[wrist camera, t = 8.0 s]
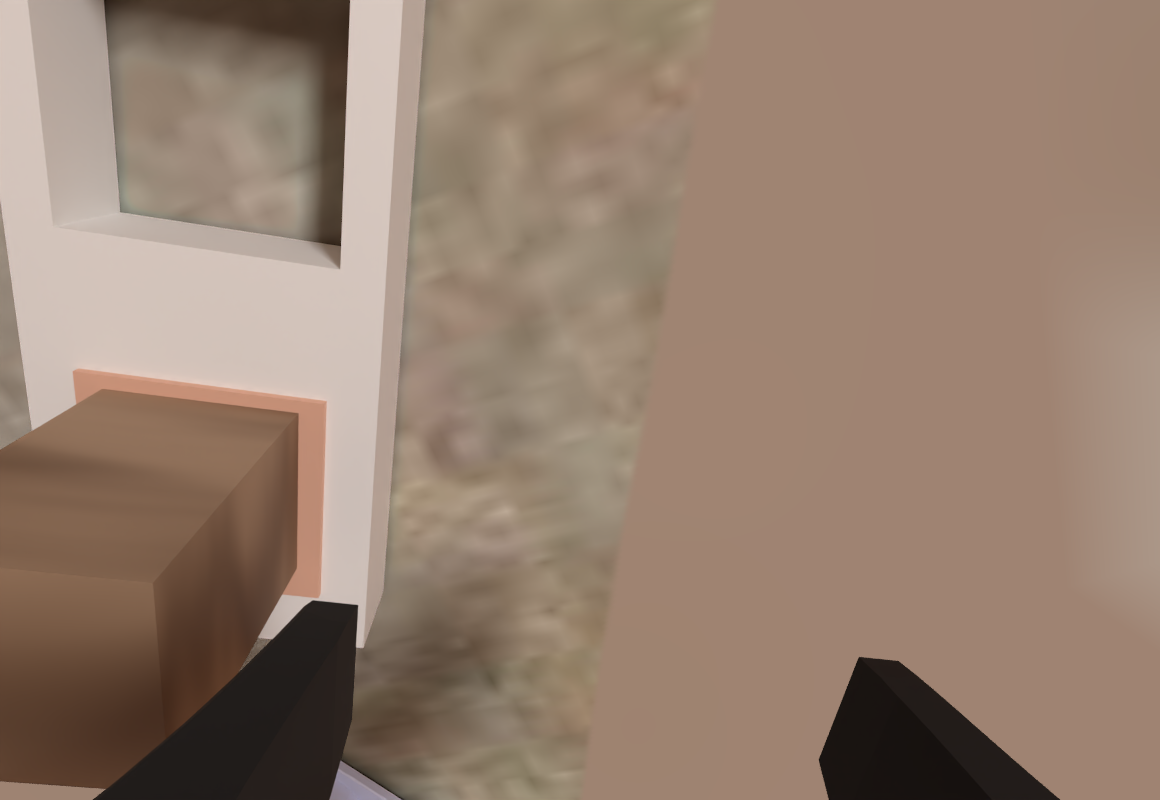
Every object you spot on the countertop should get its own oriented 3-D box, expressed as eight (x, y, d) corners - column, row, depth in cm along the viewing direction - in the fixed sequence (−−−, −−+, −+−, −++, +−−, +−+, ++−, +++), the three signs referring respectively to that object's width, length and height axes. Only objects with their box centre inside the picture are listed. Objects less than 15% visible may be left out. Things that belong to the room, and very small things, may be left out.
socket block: (383, 591, 22) (361, 653, 19) (112, 562, 21) (53, 623, 18) (431, -87, 15) (408, -129, 13) (41, -166, 14) (-68, -227, 12)
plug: (297, 567, 18) (170, 792, 12) (118, 549, 18) (-107, 773, 12) (298, 413, 16) (153, 583, 10) (102, 388, 16) (-169, 550, 10)
